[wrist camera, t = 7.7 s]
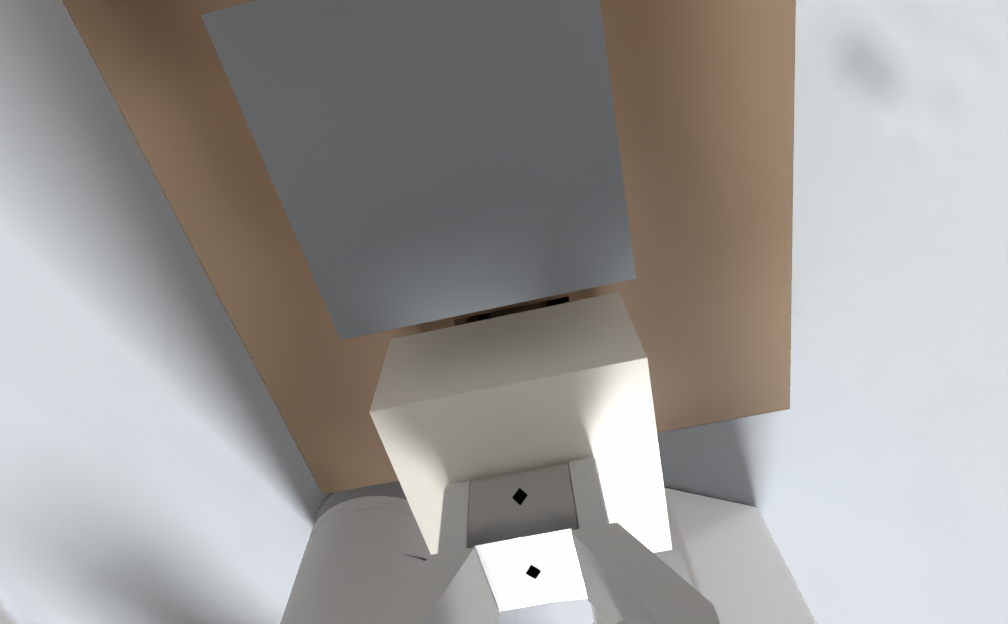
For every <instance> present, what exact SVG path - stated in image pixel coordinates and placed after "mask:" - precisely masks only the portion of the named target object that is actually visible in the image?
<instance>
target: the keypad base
mask: <svg viewBox="0 0 1008 624" xmlns="http://www.w3.org/2000/svg"><path fill="white" fill-rule="evenodd" d="M62 1H63V3H64V5H65V6H66V8H67V10H68V12H69V14H70V16H71V18H72V20H73V22H74V23H75V25H76V27H77V29H78V31H79V33H80V35H81V37H82V39H83V41H84V42H85V44H86V46H87V48H88V50H89V52H90V54H91V56H92V58H93V59H94V61H95V63H96V65H97V67H98V69H99V71H100V73H101V75H102V77H103V78H104V80H105V82H106V84H107V86H108V88H109V90H110V92H111V94H112V95H113V97H114V99H115V101H116V103H117V105H118V107H119V109H120V111H121V113H122V114H123V116H124V118H125V120H126V122H127V124H128V126H129V128H130V130H131V131H132V133H133V135H134V137H135V139H136V141H137V143H138V145H139V147H140V149H141V150H142V152H143V154H144V156H145V158H146V160H147V162H148V164H149V166H150V168H151V169H152V171H153V173H154V175H155V177H156V179H157V181H158V183H159V185H160V186H161V188H162V190H163V192H164V194H165V196H166V198H167V200H168V202H169V204H170V205H171V207H172V209H173V211H174V213H175V215H176V217H177V219H178V221H179V222H180V224H181V226H182V228H183V230H184V232H185V234H186V236H187V238H188V240H189V241H190V243H191V245H192V247H193V249H194V251H195V253H196V255H197V257H198V258H199V260H200V262H201V264H202V266H203V268H204V270H205V272H206V274H207V276H208V277H209V279H210V281H211V283H212V285H213V287H214V289H215V291H216V293H217V295H218V296H219V298H220V300H221V302H222V304H223V306H224V308H225V310H226V312H227V313H228V315H229V317H230V319H231V321H232V323H233V325H234V327H235V329H236V331H237V332H238V334H239V336H240V338H241V340H242V342H243V344H244V346H245V348H246V349H247V351H248V353H249V355H250V357H251V359H252V361H253V363H254V365H255V367H256V368H257V370H258V372H259V374H260V376H261V378H262V380H263V382H264V384H265V385H266V387H267V389H268V391H269V393H270V395H271V397H272V399H273V401H274V403H275V404H276V406H277V408H278V410H279V412H280V414H281V416H282V418H283V420H284V421H285V423H286V425H287V427H288V429H289V431H290V433H291V435H292V437H293V439H294V440H295V442H296V444H297V446H298V448H299V450H300V452H301V454H302V456H303V458H304V459H305V461H306V463H307V465H308V467H309V469H310V471H311V473H312V475H313V476H314V478H315V480H316V482H317V484H318V486H319V488H320V490H321V492H322V494H328V493H333V492H339V491H344V490H350V489H355V488H361V487H366V486H372V485H377V484H382V483H388V482H393V481H399V480H398V477H397V475H396V473H395V471H394V468H393V466H392V464H391V461H390V459H389V457H388V454H387V452H386V450H385V447H384V445H383V443H382V440H381V438H380V436H379V434H378V431H377V429H376V427H375V424H374V422H373V420H372V417H371V415H370V413H369V411H370V408H371V405H372V401H373V398H374V394H375V391H376V388H377V384H378V381H379V378H380V374H381V371H382V367H383V364H384V361H385V357H386V354H387V351H388V347H389V344H390V340H391V339H394V338H399V337H404V336H409V335H414V334H419V333H423V332H428V331H433V330H438V329H443V328H447V327H452V326H457V325H462V324H467V323H472V322H476V321H481V320H483V316H482V314H485V313H490V312H495V311H500V310H504V309H509V308H514V307H519V306H524V305H528V304H533V303H538V302H543V301H548V300H552V299H557V298H562V297H565V298H566V303H568V302H573V301H578V300H582V299H587V298H592V297H597V296H602V295H607V294H611V293H616V292H620V294H621V297H622V299H623V302H624V304H625V306H626V309H627V311H628V313H629V316H630V318H631V320H632V323H633V325H634V327H635V330H636V332H637V335H638V337H639V339H640V342H641V344H642V346H643V349H644V351H645V353H646V356H647V359H648V367H649V375H650V382H651V390H652V398H653V406H654V413H655V421H656V429H657V433H661V432H666V431H672V430H677V429H682V428H688V427H693V426H699V425H704V424H710V423H715V422H721V421H726V420H732V419H737V418H742V417H748V416H753V415H759V414H764V413H770V412H775V411H781V410H786V409H790V350H791V281H792V212H793V144H794V75H795V6H796V0H600V4H601V12H602V19H603V27H604V35H605V42H606V50H607V58H608V65H609V73H610V81H611V88H612V96H613V104H614V112H615V119H616V127H617V135H618V142H619V150H620V158H621V165H622V173H623V181H624V188H625V196H626V204H627V212H628V219H629V227H630V235H631V242H632V250H633V258H634V265H635V273H636V279H631V280H626V281H622V282H617V283H612V284H607V285H603V286H598V287H593V288H588V289H583V290H579V291H574V292H569V293H564V294H560V295H555V296H550V297H545V298H540V299H536V300H531V301H526V302H521V303H516V304H512V305H507V306H502V307H497V308H493V309H488V310H483V311H478V312H473V313H469V314H464V315H459V316H454V317H450V318H445V319H440V320H435V321H430V322H426V323H421V324H416V325H411V326H406V327H402V328H397V329H392V330H387V331H383V332H378V333H373V334H368V335H363V336H359V337H354V338H349V339H344V340H340V338H339V335H338V333H337V331H336V329H335V326H334V324H333V322H332V319H331V317H330V315H329V312H328V310H327V308H326V305H325V303H324V301H323V298H322V296H321V294H320V291H319V289H318V287H317V284H316V282H315V280H314V277H313V275H312V273H311V270H310V268H309V266H308V263H307V261H306V259H305V256H304V254H303V252H302V249H301V247H300V245H299V242H298V240H297V238H296V235H295V233H294V231H293V228H292V226H291V224H290V222H289V219H288V217H287V215H286V212H285V210H284V208H283V205H282V203H281V201H280V198H279V196H278V194H277V191H276V189H275V187H274V184H273V182H272V180H271V177H270V175H269V173H268V170H267V168H266V166H265V163H264V161H263V159H262V156H261V154H260V152H259V149H258V147H257V145H256V142H255V140H254V138H253V135H252V133H251V131H250V128H249V126H248V124H247V121H246V119H245V117H244V115H243V112H242V110H241V108H240V105H239V103H238V101H237V98H236V96H235V94H234V91H233V89H232V87H231V84H230V82H229V80H228V77H227V75H226V73H225V70H224V68H223V66H222V63H221V61H220V59H219V56H218V54H217V52H216V49H215V47H214V45H213V42H212V40H211V38H210V35H209V33H208V31H207V28H206V26H205V24H204V21H203V19H202V17H201V15H203V14H207V13H210V12H214V11H218V10H221V9H225V8H229V7H233V6H236V5H240V4H244V3H247V2H251V1H255V0H62Z"/></svg>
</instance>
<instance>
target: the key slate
mask: <svg viewBox="0 0 1008 624" xmlns="http://www.w3.org/2000/svg"><path fill="white" fill-rule="evenodd" d="M201 17H202V19H203V21H204V24H205V26H206V28H207V31H208V33H209V35H210V38H211V40H212V42H213V45H214V47H215V49H216V52H217V54H218V56H219V59H220V61H221V63H222V66H223V68H224V70H225V73H226V75H227V77H228V80H229V82H230V84H231V87H232V89H233V91H234V94H235V96H236V98H237V101H238V103H239V105H240V108H241V110H242V112H243V115H244V117H245V119H246V121H247V124H248V126H249V128H250V131H251V133H252V135H253V138H254V140H255V142H256V145H257V147H258V149H259V152H260V154H261V156H262V159H263V161H264V163H265V166H266V168H267V170H268V173H269V175H270V177H271V180H272V182H273V184H274V187H275V189H276V191H277V194H278V196H279V198H280V201H281V203H282V205H283V208H284V210H285V212H286V215H287V217H288V219H289V222H290V224H291V226H292V228H293V231H294V233H295V235H296V238H297V240H298V242H299V245H300V247H301V249H302V252H303V254H304V256H305V259H306V261H307V263H308V266H309V268H310V270H311V273H312V275H313V277H314V280H315V282H316V284H317V287H318V289H319V291H320V294H321V296H322V298H323V301H324V303H325V305H326V308H327V310H328V312H329V315H330V317H331V319H332V322H333V324H334V326H335V329H336V331H337V333H338V335H339V338H340V340H344V339H349V338H354V337H359V336H363V335H368V334H373V333H378V332H383V331H387V330H392V329H397V328H402V327H406V326H411V325H416V324H421V323H426V322H430V321H435V320H440V319H445V318H450V317H454V316H459V315H464V314H469V313H473V312H478V311H483V310H488V309H493V308H497V307H502V306H507V305H512V304H516V303H521V302H526V301H531V300H536V299H540V298H545V297H550V296H555V295H560V294H564V293H569V292H574V291H579V290H583V289H588V288H593V287H598V286H603V285H607V284H612V283H617V282H622V281H626V280H631V279H636V273H635V265H634V258H633V250H632V242H631V235H630V227H629V219H628V212H627V204H626V196H625V188H624V181H623V173H622V165H621V158H620V150H619V142H618V135H617V127H616V119H615V112H614V104H613V96H612V88H611V81H610V73H609V65H608V58H607V50H606V42H605V35H604V27H603V19H602V12H601V4H600V0H255V1H251V2H247V3H244V4H240V5H236V6H233V7H229V8H225V9H221V10H218V11H214V12H210V13H207V14H203V15H201Z"/></svg>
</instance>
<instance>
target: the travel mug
mask: <svg viewBox="0 0 1008 624" xmlns="http://www.w3.org/2000/svg"><path fill="white" fill-rule="evenodd" d="M430 555H431V554H430V552H429V549H428V547H427V545H426V542H425V540H424V538H423V535H422V533H421V531H420V528H419V526H418V524H417V521H416V519H415V517H414V515H413V512H412V510H411V508H410V505H409V503H408V501H407V498H406V496H405V494H404V491H403V489H402V487H401V484H400V482H399V481H393V482H388V483H382V484H377V485H372V486H366V487H361V488H355V489H350V490H344V491H339V492H334V493H333V494H331V495H330V496H329V497H328V498H327V499H326V500H325V501H324V503H323V504H322V506H321V507H320V509H319V511H318V514H317V517H316V520H315V523H314V526H313V529H312V532H311V535H310V538H309V541H308V544H307V547H306V550H305V553H304V555H303V558H302V561H301V564H300V567H299V570H298V573H297V576H296V579H295V582H294V585H293V588H292V591H291V594H290V597H289V600H288V603H287V606H286V609H285V612H284V615H283V618H282V621H281V624H378V623H379V622H380V620H381V619H382V618H383V616H384V615H385V614H386V612H387V611H388V610H389V609H390V607H391V606H392V605H393V603H394V602H395V601H396V599H397V598H398V597H399V595H400V594H401V593H402V591H403V590H404V589H405V587H406V586H407V585H408V583H409V582H410V581H411V579H412V578H413V577H414V576H415V574H416V573H417V572H418V570H419V569H420V568H421V566H422V565H423V564H424V562H425V561H426V560H427V558H428V557H429V556H430Z"/></svg>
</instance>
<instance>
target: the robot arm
mask: <svg viewBox="0 0 1008 624" xmlns="http://www.w3.org/2000/svg"><path fill="white" fill-rule="evenodd" d="M581 598H588V600H589V602H590V603H591V604H592V605H593V607H594V608H595V609H596V610H597V611H598V613H599V614H600V615H601V616H602V617H603V619H604V620H605V621H606V622H607V623H608V624H720V621H719V618H718V616H717V613H716V610H715V608H714V605H713V604H712V603H711V602H710V601H709V600H708V599H707V598H705V597H704V596H703V595H702V594H701V593H700V592H698V591H697V590H696V589H695V588H694V587H693V586H691V585H690V584H689V583H688V582H687V581H686V580H684V579H683V578H682V577H681V576H680V575H679V574H677V573H676V572H675V571H674V570H673V569H672V568H670V567H669V566H668V565H667V564H666V563H665V562H663V561H662V560H661V559H660V558H659V557H658V556H656V555H655V554H654V553H653V552H652V551H651V550H649V549H648V548H647V547H646V546H645V545H644V544H642V543H641V542H640V541H639V540H638V539H637V538H635V537H634V536H633V535H632V534H631V533H629V532H628V531H627V530H626V529H625V528H624V527H622V526H621V525H620V524H619V523H618V522H616V523H610V522H609V518H608V513H607V509H606V505H605V500H604V496H603V491H602V487H601V482H600V478H599V473H598V469H597V465H596V460H595V459H594V457H590V458H585V459H580V460H575V461H570V462H569V464H568V462H566V463H561V464H556V465H551V466H545V467H540V468H535V469H530V470H525V471H520V472H516V473H509V474H503V475H497V476H491V477H484V478H478V479H472V480H470V481H463V482H457V483H450V484H446V487H445V489H444V492H443V502H442V512H441V522H440V532H439V542H438V553H437V554H433V555H430V556H429V557H428V558H427V560H426V561H425V562H424V564H423V565H422V566H421V568H420V569H419V570H418V572H417V573H416V574H415V576H414V577H413V578H412V579H411V581H410V582H409V583H408V585H407V586H406V587H405V589H404V590H403V591H402V593H401V594H400V595H399V597H398V598H397V599H396V601H395V602H394V603H393V605H392V606H391V607H390V609H389V610H388V611H387V612H386V614H385V615H384V616H383V618H382V619H381V620H380V622H379V623H378V624H496V622H497V620H498V618H499V616H500V614H499V612H502V611H507V610H512V609H518V608H523V607H528V606H533V605H538V604H544V603H551V602H559V601H566V600H573V599H581Z"/></svg>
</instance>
